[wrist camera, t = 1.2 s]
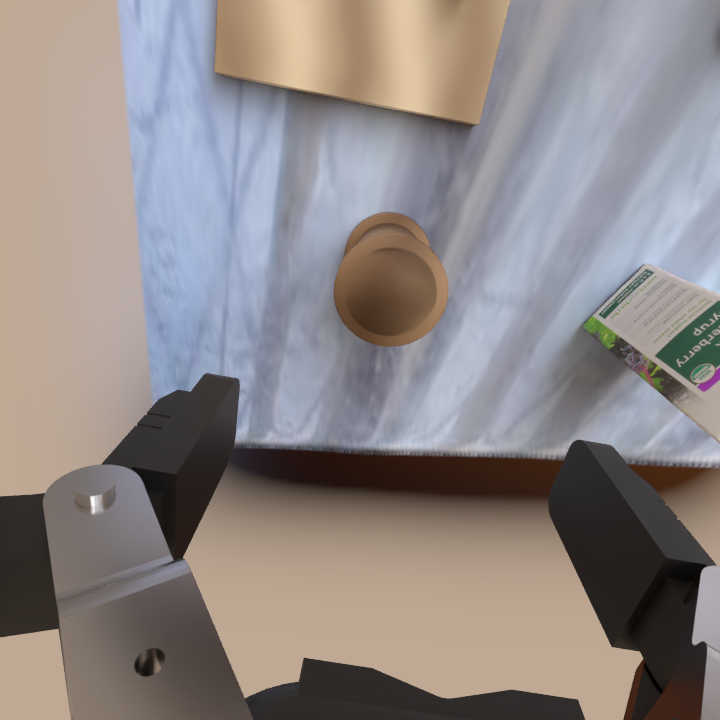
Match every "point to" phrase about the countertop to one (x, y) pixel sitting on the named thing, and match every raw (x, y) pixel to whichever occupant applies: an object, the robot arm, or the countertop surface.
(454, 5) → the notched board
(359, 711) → the robot arm
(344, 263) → the wooden bobbin
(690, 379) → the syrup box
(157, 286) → the countertop surface
